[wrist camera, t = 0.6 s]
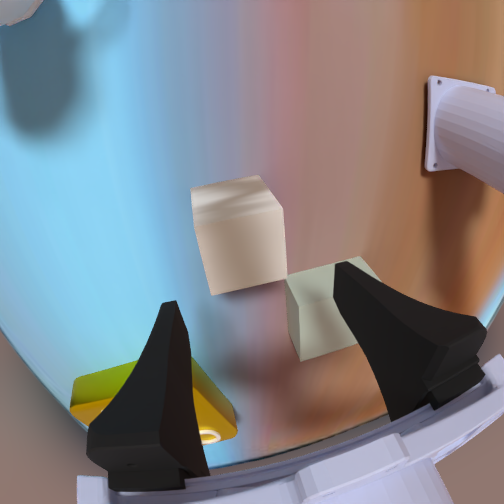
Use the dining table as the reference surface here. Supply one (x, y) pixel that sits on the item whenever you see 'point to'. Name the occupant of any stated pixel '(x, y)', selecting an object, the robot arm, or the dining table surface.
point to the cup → (17, 10)
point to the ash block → (239, 234)
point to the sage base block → (317, 311)
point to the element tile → (111, 380)
